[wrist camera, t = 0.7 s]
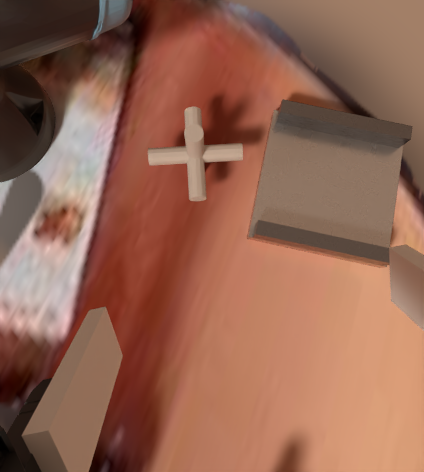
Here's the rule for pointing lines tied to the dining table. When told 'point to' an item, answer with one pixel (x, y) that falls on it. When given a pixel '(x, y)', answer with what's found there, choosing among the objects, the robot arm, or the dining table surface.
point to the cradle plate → (329, 183)
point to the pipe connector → (195, 154)
